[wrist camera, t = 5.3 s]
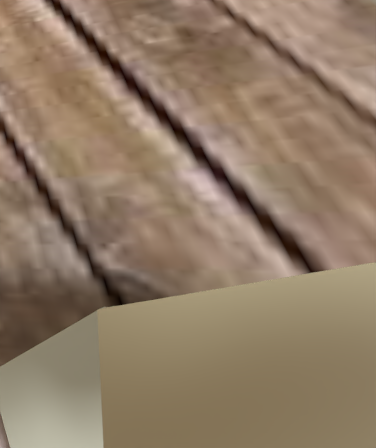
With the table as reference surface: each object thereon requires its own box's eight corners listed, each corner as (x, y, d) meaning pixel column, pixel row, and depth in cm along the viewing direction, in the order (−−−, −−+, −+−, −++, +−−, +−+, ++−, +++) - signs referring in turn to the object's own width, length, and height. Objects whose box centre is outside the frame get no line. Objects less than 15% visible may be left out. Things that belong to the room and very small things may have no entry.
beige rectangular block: (326, 427, 14) (874, 974, 2) (202, 444, 14) (128, 1009, 3) (292, 298, 16) (488, 242, 4) (184, 316, 16) (97, 309, 4)
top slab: (165, 428, 19) (161, 437, 18) (44, 503, 18) (30, 519, 17) (111, 307, 22) (103, 306, 20) (4, 368, 21) (-11, 372, 20)
